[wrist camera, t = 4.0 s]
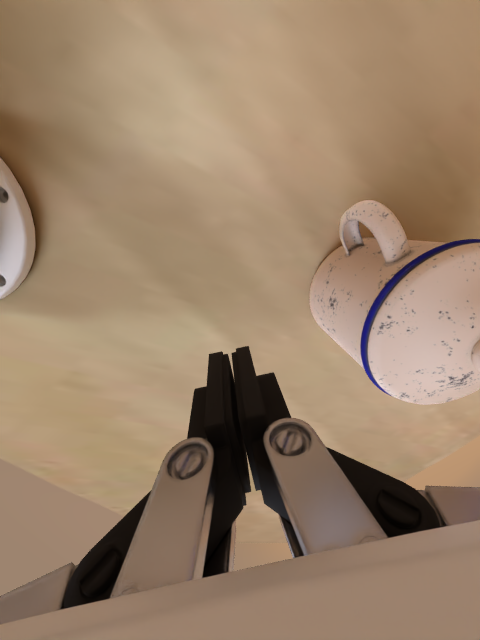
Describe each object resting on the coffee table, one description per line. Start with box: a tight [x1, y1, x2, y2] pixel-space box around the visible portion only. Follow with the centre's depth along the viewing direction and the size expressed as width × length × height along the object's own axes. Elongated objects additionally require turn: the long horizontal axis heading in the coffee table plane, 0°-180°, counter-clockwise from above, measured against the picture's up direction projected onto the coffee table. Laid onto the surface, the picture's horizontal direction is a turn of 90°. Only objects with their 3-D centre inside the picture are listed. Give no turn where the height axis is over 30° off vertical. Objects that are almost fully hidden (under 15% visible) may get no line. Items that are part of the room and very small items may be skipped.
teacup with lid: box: [309, 200, 480, 404], centre depth 15 cm, size 12×9×12 cm
